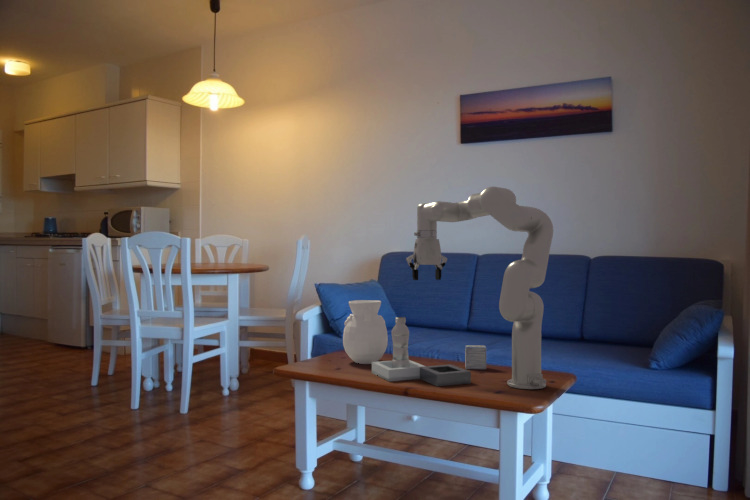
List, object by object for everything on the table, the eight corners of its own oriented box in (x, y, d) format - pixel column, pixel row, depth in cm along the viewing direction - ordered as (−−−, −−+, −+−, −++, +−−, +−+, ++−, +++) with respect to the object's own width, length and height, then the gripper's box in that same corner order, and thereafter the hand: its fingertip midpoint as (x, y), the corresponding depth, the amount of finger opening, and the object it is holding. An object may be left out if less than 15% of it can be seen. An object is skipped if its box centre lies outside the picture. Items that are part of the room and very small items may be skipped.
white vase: (342, 358, 246) (342, 299, 246) (385, 357, 247) (385, 299, 247) (343, 366, 227) (343, 303, 227) (390, 366, 229) (390, 302, 229)
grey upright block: (485, 367, 226) (485, 345, 226) (486, 369, 222) (486, 347, 222) (465, 367, 227) (464, 345, 227) (465, 369, 222) (465, 346, 222)
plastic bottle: (410, 374, 208) (410, 318, 208) (391, 374, 208) (391, 318, 208) (409, 370, 214) (409, 316, 215) (390, 370, 214) (390, 316, 214)
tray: (427, 378, 206) (427, 366, 206) (388, 381, 201) (388, 369, 201) (408, 369, 221) (408, 359, 221) (371, 372, 216) (371, 362, 216)
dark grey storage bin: (470, 383, 198) (470, 371, 198) (437, 386, 193) (437, 374, 193) (450, 375, 211) (450, 364, 211) (418, 378, 206) (418, 366, 206)
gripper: (410, 234, 217) (410, 280, 217) (451, 235, 223) (451, 279, 223) (402, 235, 224) (402, 279, 224) (442, 236, 230) (442, 279, 230)
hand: (426, 279), depth 223 cm, fingers open, 9 cm apart
